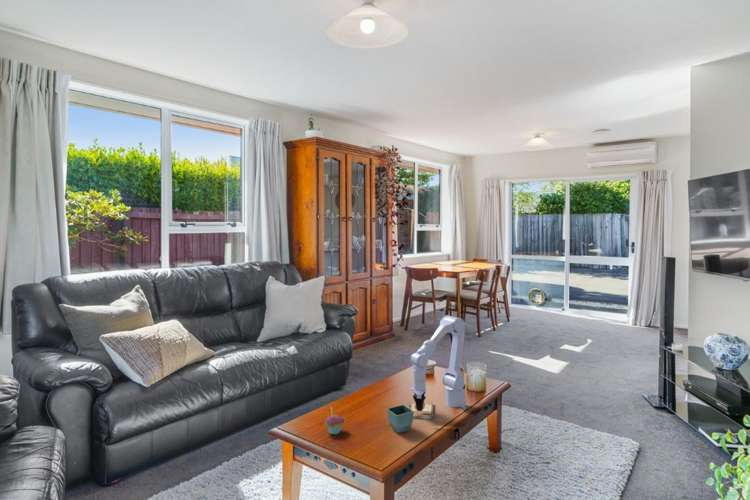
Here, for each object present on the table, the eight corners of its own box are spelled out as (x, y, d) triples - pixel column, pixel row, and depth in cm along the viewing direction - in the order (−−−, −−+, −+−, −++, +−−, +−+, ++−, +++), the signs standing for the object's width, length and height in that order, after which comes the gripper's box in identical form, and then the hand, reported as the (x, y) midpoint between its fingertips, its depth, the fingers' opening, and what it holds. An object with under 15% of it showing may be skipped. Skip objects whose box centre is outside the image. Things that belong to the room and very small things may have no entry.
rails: (432, 406, 220) (432, 401, 220) (432, 421, 204) (432, 416, 204) (408, 406, 222) (407, 401, 222) (406, 420, 205) (406, 415, 205)
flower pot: (396, 436, 189) (396, 415, 189) (386, 428, 197) (386, 408, 197) (414, 432, 194) (414, 411, 193) (403, 424, 201) (403, 404, 201)
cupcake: (336, 438, 189) (335, 409, 188) (320, 433, 193) (319, 406, 193) (348, 430, 196) (347, 403, 196) (332, 426, 201) (332, 399, 200)
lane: (432, 406, 220) (432, 404, 220) (432, 421, 204) (432, 418, 204) (408, 406, 222) (407, 403, 222) (406, 420, 205) (406, 418, 205)
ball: (424, 408, 211) (424, 397, 211) (424, 412, 206) (424, 401, 206) (414, 408, 212) (414, 397, 212) (413, 412, 207) (413, 401, 207)
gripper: (411, 374, 216) (411, 402, 217) (409, 384, 202) (410, 414, 202) (426, 374, 215) (426, 402, 216) (425, 384, 201) (426, 414, 202)
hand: (419, 408), depth 209 cm, fingers closed on ball, 5 cm apart
